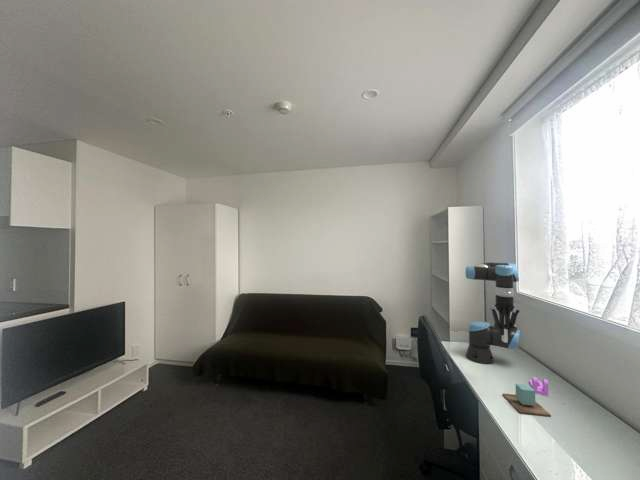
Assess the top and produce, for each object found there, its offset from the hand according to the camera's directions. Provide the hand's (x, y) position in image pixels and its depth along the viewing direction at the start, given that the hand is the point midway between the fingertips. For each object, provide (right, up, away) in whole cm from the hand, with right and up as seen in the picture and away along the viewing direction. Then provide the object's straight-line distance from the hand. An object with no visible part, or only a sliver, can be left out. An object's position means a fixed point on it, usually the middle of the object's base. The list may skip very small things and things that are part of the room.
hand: (504, 341), depth 132 cm
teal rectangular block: (0, -22, -14) cm, 26 cm away
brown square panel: (0, -24, -14) cm, 28 cm away
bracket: (+18, -25, +1) cm, 31 cm away
